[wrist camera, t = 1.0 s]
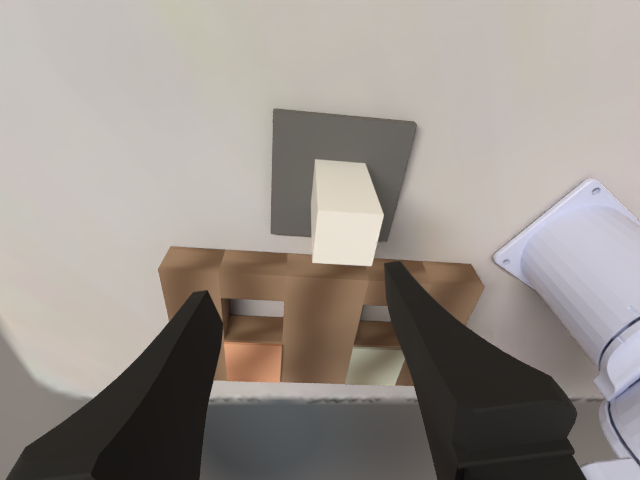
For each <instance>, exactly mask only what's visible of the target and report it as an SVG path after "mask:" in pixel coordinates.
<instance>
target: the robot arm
mask: <svg viewBox="0 0 640 480" xmlns="http://www.w3.org/2000/svg"><path fill="white" fill-rule="evenodd" d="M595 188H596V189H595ZM594 189H595V190H594ZM593 190H594V191H593ZM592 191H593V192H592ZM506 259H507V260H506ZM493 260H494V261H495V262H496V263H497V264H498V265H499V266H501V267H502V268H504V269H505V270H507V271H508V272H509V273H511V274H512V275H514V276H515V277H517V278H518V279H520V280H521V281H522V282H524V283H525V284H527V285H528V286H530V287H531V288H532V289H534V290H535V291H537V292H538V293H539V294H540V296H541V297H542V298H543V299H544V301H545V302H546V303H547V305H548V306H549V307H550V308H551V310H552V311H553V312H554V313H555V315H556V316H557V317H558V318H559V320H560V321H561V322H562V324H563V325H564V326H565V327H566V329H567V330H568V331H569V332H570V334H571V335H572V336H573V337H574V339H575V340H576V341H577V342H578V344H579V345H580V346H581V348H582V349H583V350H584V351H585V353H586V354H587V355H588V356H589V358H590V359H591V360H592V361H593V363H594V364H595V365H596V366H597V368H598V369H599V370H600V372H599V374H598V375H597V377H596V378H595V379H594V380H593V382H594V384H595V385H596V386H597V388H598V389H599V390H600V392H601V393H602V394H603V396H604V397H605V398H606V399H604V400H603V402H602V403H601V405H600V408H599V420H600V424H601V427H602V430H603V432H604V434H605V437H606V439H607V440H608V442H609V444H610V446H611V448H612V450H613V452H614V453H615V455H616V456H617V459H609V460H601V461H593V462H589V463H586V464H583V465H582V466H580V467H579V466H578V465H577V463H576V461H575V459H574V457H573V456H572V455H573V454H574V453H575V452H574V449H573V447H572V445H571V444H570V442H569V440H568V439H567V436H568V434H569V432H570V430H571V429H572V427H573V425H574V423H575V420H576V417H577V411H576V408H575V407H574V405H573V404H572V402H571V401H570V399H569V398H568V396H567V395H566V394H565V393H564V391H563V390H562V389H561V388H560V386H559V385H558V384H557V383H556V382H555V381H554V379H553V378H552V377H551V376H549V375H547V374H545V373H543V372H541V371H539V370H537V369H535V368H533V367H531V366H529V365H527V364H525V363H523V362H521V361H519V360H517V359H516V358H514V357H512V356H510V355H509V354H507V353H505V352H503V351H502V350H500V349H499V348H497V347H495V346H494V345H492V344H491V343H489V342H488V341H486V340H485V339H483V338H481V337H480V336H478V335H477V334H476V333H474V332H473V331H472V330H470V329H469V328H467V327H466V326H465V325H464V324H462V323H461V322H460V321H458V320H457V319H456V318H455V317H454V316H452V315H451V314H450V313H449V312H448V311H447V310H446V309H444V308H443V307H442V306H441V305H440V304H439V303H438V302H437V301H436V300H435V299H434V298H433V297H432V296H431V295H430V294H429V293H428V292H427V291H426V290H425V289H424V288H423V287H422V286H421V285H420V284H419V283H418V282H417V280H416V279H415V278H414V277H413V276H412V275H411V273H410V272H409V271H408V270H407V269H406V267H405V266H404V265H403V263H402V262H400V261H395V262H388V263H384V272H385V289H386V301H387V305H388V310H389V314H390V318H391V322H392V325H393V328H394V330H395V333H396V336H397V338H398V341H399V344H400V347H401V349H402V352H403V355H404V357H405V360H406V363H407V365H408V368H409V371H410V374H411V377H412V380H413V383H414V387H415V391H416V395H417V399H418V402H419V406H420V410H421V414H422V418H423V422H424V426H425V430H426V434H427V438H428V442H429V446H430V450H431V454H432V458H433V462H434V467H435V471H436V475H437V479H438V480H640V222H639V221H638V220H637V219H636V218H635V217H634V216H633V215H632V214H631V213H630V212H629V211H628V210H627V209H626V208H625V207H624V206H623V205H622V204H621V203H620V202H619V201H618V200H617V199H616V198H615V197H614V196H613V195H612V194H611V193H610V192H609V191H608V190H607V189H606V188H605V187H604V186H603V185H602V184H601V183H600V182H599V181H598V180H596V179H594V178H589V179H586V180H585V181H583V182H582V183H581V184H580V185H579V186H577V187H576V188H575V189H574V190H572V191H571V192H570V193H569V194H568V195H566V196H565V197H564V198H563V199H561V200H560V201H559V202H558V203H556V204H555V205H554V206H553V207H552V208H550V209H549V210H548V211H547V212H545V213H544V214H543V215H542V216H541V217H539V218H538V219H537V220H536V221H534V222H533V223H532V224H531V225H529V226H528V227H527V228H526V229H525V230H523V231H522V232H521V233H520V234H518V235H517V236H516V237H515V238H514V239H512V240H511V241H510V242H509V243H507V244H506V245H505V246H504V247H502V248H501V249H500V250H499V251H498V252H496V253H495V254H494V256H493ZM504 260H506V261H504ZM222 335H223V322H222V320H221V317H220V315H219V313H218V311H217V309H216V307H215V305H214V303H213V300H212V298H211V296H210V294H209V292H208V290H204V291H198V292H193V293H192V294H191V295H190V296H189V298H188V299H187V300H186V301H185V303H184V304H183V305H182V306H181V308H180V309H179V310H178V312H177V313H176V314H175V315H174V317H173V318H172V319H171V320H170V321H169V323H168V324H167V325H166V326H165V328H164V329H163V330H162V331H161V333H160V334H159V335H158V336H157V337H156V338H155V339H154V340H153V342H152V343H151V344H150V345H149V346H148V347H147V348H146V349H145V351H144V352H143V353H142V354H141V355H140V356H139V357H138V358H137V359H136V360H135V361H134V362H133V363H132V364H131V365H130V366H129V367H128V368H127V369H126V370H125V371H124V372H123V373H122V374H121V375H120V376H119V377H118V378H117V379H115V380H114V381H113V382H112V383H111V384H110V385H108V386H107V387H106V388H105V389H104V390H103V391H102V392H100V393H99V394H98V395H97V396H96V397H95V398H93V399H92V400H91V401H90V402H88V403H87V404H86V405H85V406H83V407H82V408H81V409H80V410H78V411H77V412H76V413H74V414H73V415H71V416H70V417H69V418H68V419H66V420H65V421H63V422H62V423H61V424H59V425H58V426H56V427H55V428H54V429H52V430H51V431H49V432H48V433H46V434H45V435H43V436H42V437H40V438H39V439H37V440H36V441H34V442H33V443H31V444H30V445H28V446H27V447H25V449H24V451H23V452H22V454H21V455H20V457H19V459H18V460H17V462H16V464H15V465H14V467H13V469H12V470H11V472H10V473H9V475H8V477H7V478H6V480H199V477H200V465H201V454H202V445H203V435H204V428H205V419H206V412H207V407H208V402H209V397H210V393H211V389H212V384H213V380H214V376H215V372H216V368H217V363H218V359H219V355H220V350H221V344H222Z"/></svg>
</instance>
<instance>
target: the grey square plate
mask: <svg viewBox="0 0 640 480" xmlns="http://www.w3.org/2000/svg"><path fill="white" fill-rule="evenodd" d="M416 126H417V124H416V123H415V122H413V121H402V120H391V119H380V118H370V117H359V116H348V115H338V114H327V113H316V112H305V111H295V110H284V109H274V111H273V147H272V194H271V234H279V235H295V236H311V237H312V233H311V197H312V186H313V176H314V165H315V159H319V160H331V161H343V162H356V163H365V164H366V167H367V169H368V172H369V175H370V178H371V181H372V183H373V186H374V189H375V192H376V194H377V197H378V200H379V203H380V205H381V208H382V211H383V214H384V217H383V221H382V225H381V229H380V233H379V238H378V241H387V240H388V236H389V232H390V228H391V224H392V220H393V216H394V212H395V209H396V205H397V201H398V197H399V193H400V189H401V185H402V181H403V177H404V173H405V169H406V165H407V162H408V158H409V154H410V150H411V146H412V142H413V138H414V134H415V130H416Z"/></svg>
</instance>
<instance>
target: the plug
mask: <svg viewBox="0 0 640 480" xmlns="http://www.w3.org/2000/svg"><path fill="white" fill-rule="evenodd" d="M383 217H384V214H383V211H382V208H381V205H380V203H379V200H378V197H377V194H376V192H375V189H374V186H373V183H372V181H371V178H370V175H369V172H368V169H367V167H366V164H365V163H356V162H343V161H331V160H319V159H315V165H314V176H313V186H312V197H311V233H312V263H323V264H341V265H358V266H372V263H373V259H374V255H375V250H376V246H377V242H378V238H379V233H380V229H381V225H382V221H383Z"/></svg>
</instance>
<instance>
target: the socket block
mask: <svg viewBox="0 0 640 480" xmlns="http://www.w3.org/2000/svg"><path fill="white" fill-rule="evenodd" d="M395 261H400V262H402V263H403V265H404V266H405V267H406V269H407V270H408V271H409V272H410V273H411V275H412V276H413V277H414V278H415V279H416V280H417V282H418V283H419V284H420V285H421V286H422V287H423V288H424V289H425V290H426V291H427V292H428V293H429V294H430V295H431V296H432V297H433V298H434V299H435V300H436V301H437V302H438V303H439V304H440V305H441V306H442V307H443V308H444V309H446V310H447V311H448V312H449V313H450V314H451V315H452V316H454V317H455V318H456V319H457V320H458V321H460V322H461V323H462V324H464V325H466V323H467V321H468V319H469V317H470V315H471V313H472V311H473V309H474V307H475V305H476V303H477V301H478V299H479V297H480V295H481V293H482V291H483V289H484V287H485V286H484V285H483V283H482V282H481V280H480V278H479V277H478V275H477V274H476V272H475V270H474V269H473V267H472V265H471V264H460V263H443V262H426V261H409V260H392V259H373V263H372V266H358V265H341V264H323V263H312V255H306V254H289V253H272V252H255V251H238V250H221V249H204V248H187V247H170V248H169V250H168V252H167V254H166V256H165V258H164V259H163V261H162V263H161V265H160V267H159V268H158V272H159V276H160V281H161V285H162V290H163V295H164V299H165V304H166V308H167V313H168V318H169V321H170V320H171V319H172V318H173V317H174V315H175V314H176V313H177V312H178V310H179V309H180V308H181V306H182V305H183V304H184V303H185V301H186V300H187V299H188V298H189V296H190V295H191V294H192V293H193V292H198V291H204V290H208V292H209V294H210V296H211V298H212V300H213V303H214V305H215V307H216V309H217V311H218V313H219V315H220V317H221V320H222V322H223V335H222V344H221V350H220V355H219V359H218V363H217V368H216V372H215V376H214V380H222V381H243V382H279V383H280V382H294V383H330V384H351V385H388V386H395V385H402V386H414V383H413V380H412V377H411V374H410V371H409V368H408V365H407V363H406V360H405V357H404V355H403V352H402V349H401V347H400V344H399V341H398V338H397V336H396V333H395V330H394V328H393V325H392V322H376V321H359V320H360V316H361V312H362V308H363V305H378V306H388V305H387V301H386V289H385V272H384V263H388V262H395ZM229 298H230V299H251V300H272V301H284V318H283V317H260V316H237V315H230V305H229Z"/></svg>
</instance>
